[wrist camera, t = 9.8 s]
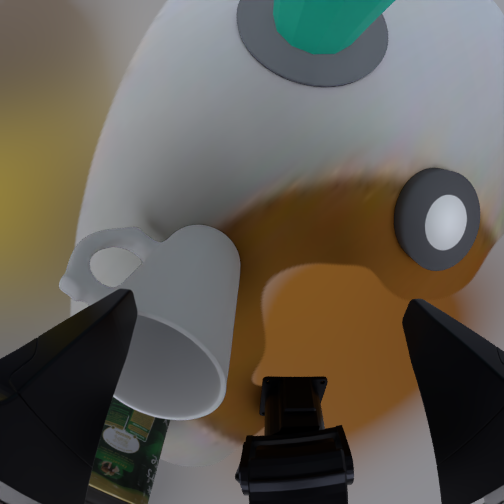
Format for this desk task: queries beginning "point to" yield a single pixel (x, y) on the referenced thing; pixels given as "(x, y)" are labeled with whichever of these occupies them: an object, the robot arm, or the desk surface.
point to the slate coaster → (304, 63)
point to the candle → (325, 22)
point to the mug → (170, 316)
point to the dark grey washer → (437, 218)
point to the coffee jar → (126, 457)
